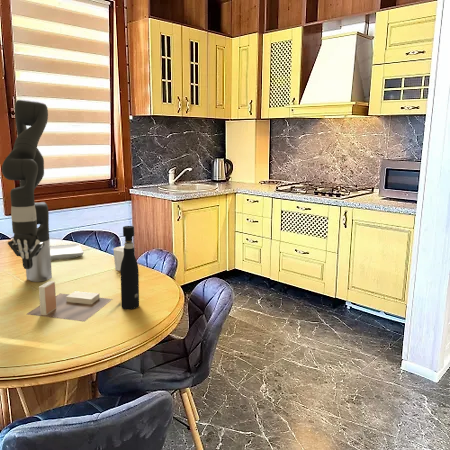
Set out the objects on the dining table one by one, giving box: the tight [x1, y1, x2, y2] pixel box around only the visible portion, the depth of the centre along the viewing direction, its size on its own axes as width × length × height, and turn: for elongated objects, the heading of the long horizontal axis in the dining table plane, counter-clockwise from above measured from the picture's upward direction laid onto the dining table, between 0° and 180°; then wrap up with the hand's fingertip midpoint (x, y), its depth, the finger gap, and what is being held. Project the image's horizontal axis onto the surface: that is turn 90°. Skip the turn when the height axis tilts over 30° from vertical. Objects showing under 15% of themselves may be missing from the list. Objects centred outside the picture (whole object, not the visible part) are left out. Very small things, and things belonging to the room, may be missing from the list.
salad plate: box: [50, 243, 84, 261], centre depth 215 cm, size 21×21×3 cm
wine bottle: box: [119, 225, 140, 311], centre depth 149 cm, size 6×6×30 cm
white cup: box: [113, 245, 125, 272], centre depth 194 cm, size 8×8×10 cm
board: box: [26, 293, 113, 322], centre depth 148 cm, size 22×20×1 cm
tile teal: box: [66, 290, 101, 304], centre depth 154 cm, size 2×6×10 cm
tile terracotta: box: [38, 280, 57, 315], centre depth 142 cm, size 2×6×10 cm, turn 168°
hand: (28, 268), depth 142 cm, fingers closed
